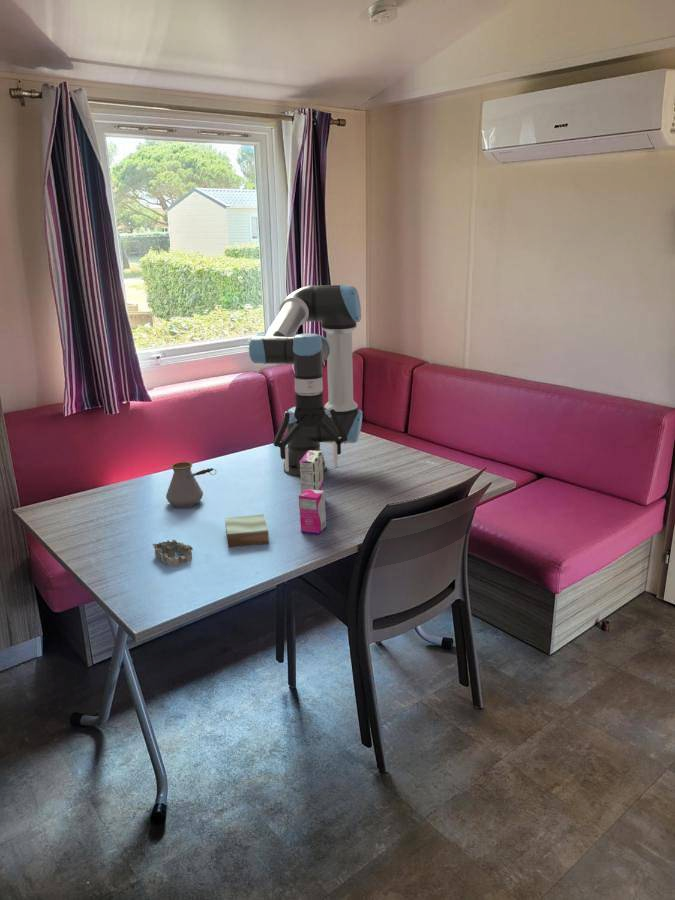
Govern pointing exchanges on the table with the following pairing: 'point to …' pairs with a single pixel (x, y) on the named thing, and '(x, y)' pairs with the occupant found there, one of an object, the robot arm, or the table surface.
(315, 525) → the supplement box
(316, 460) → the candy bar box
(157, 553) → the rocky terrain model
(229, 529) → the block
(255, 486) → the table surface
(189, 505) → the coffee pot
